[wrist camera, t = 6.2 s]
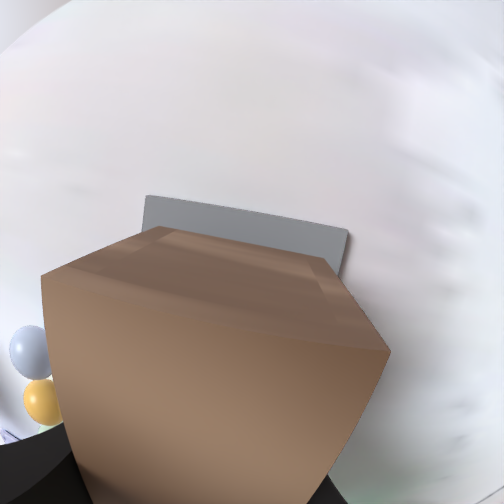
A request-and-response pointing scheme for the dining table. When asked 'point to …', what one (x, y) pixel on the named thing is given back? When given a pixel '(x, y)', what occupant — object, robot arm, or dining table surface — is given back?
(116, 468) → the brown rectangular block
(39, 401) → the marble amber
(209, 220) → the slate coaster
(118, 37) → the dining table surface
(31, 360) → the marble blue
